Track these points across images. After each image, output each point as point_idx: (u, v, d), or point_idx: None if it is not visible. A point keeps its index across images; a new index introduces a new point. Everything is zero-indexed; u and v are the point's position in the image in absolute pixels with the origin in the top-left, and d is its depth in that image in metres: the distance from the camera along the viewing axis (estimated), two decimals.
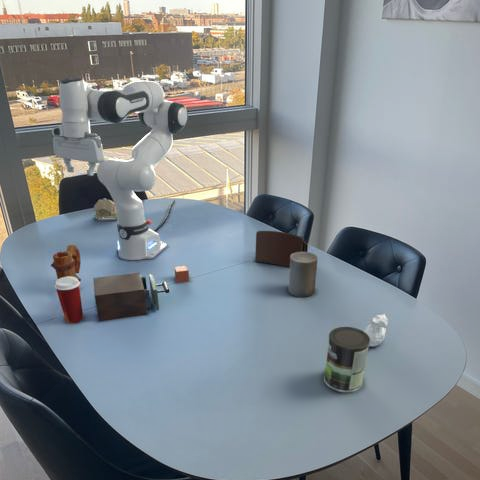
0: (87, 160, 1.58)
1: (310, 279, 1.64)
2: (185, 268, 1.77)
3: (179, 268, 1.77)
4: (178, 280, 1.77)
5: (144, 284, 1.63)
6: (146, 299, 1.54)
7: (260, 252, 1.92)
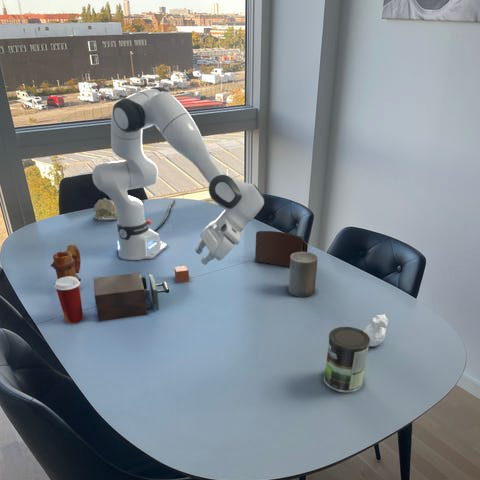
0: None
1: (310, 279, 1.64)
2: (185, 268, 1.77)
3: (179, 268, 1.77)
4: (178, 280, 1.77)
5: (144, 284, 1.63)
6: (146, 299, 1.54)
7: (260, 253, 1.92)
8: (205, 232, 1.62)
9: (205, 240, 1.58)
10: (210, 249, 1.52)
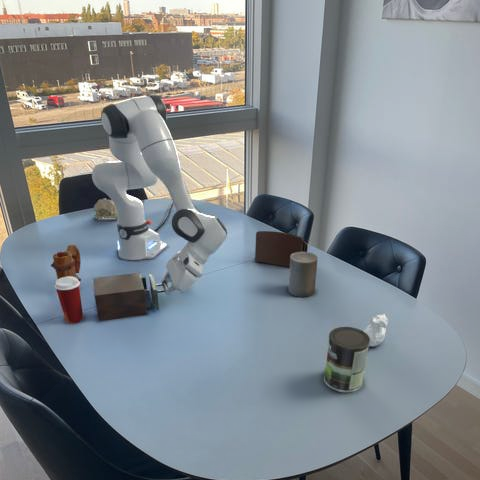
0: None
1: (310, 279, 1.64)
2: None
3: None
4: None
5: (144, 284, 1.63)
6: (146, 299, 1.54)
7: (260, 253, 1.91)
8: (170, 263, 1.64)
9: (170, 271, 1.60)
10: (173, 281, 1.53)
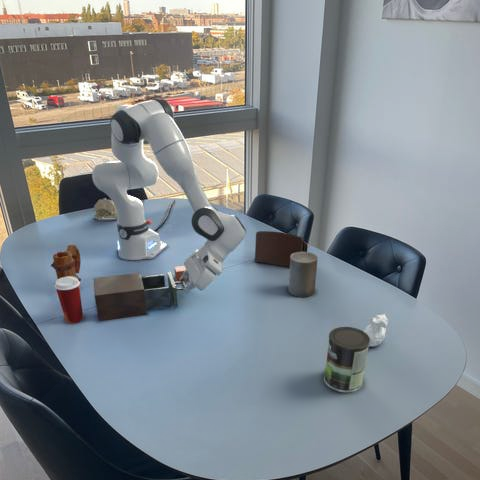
0: None
1: (310, 279, 1.64)
2: (185, 268, 1.77)
3: (179, 268, 1.77)
4: (178, 280, 1.77)
5: (162, 282, 1.64)
6: (165, 296, 1.56)
7: (260, 253, 1.91)
8: (188, 261, 1.65)
9: (188, 269, 1.62)
10: (192, 279, 1.55)
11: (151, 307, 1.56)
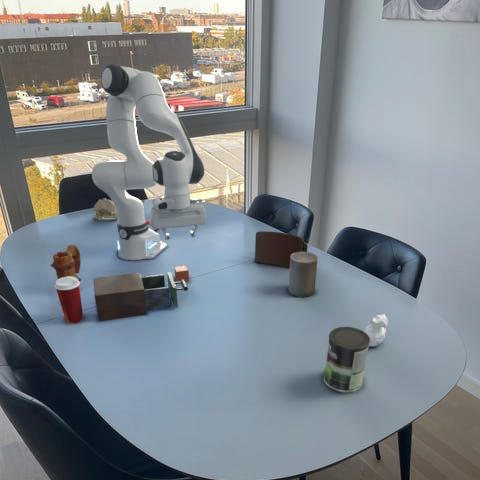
0: (195, 224, 1.68)
1: (310, 279, 1.64)
2: (185, 268, 1.77)
3: (179, 268, 1.77)
4: (178, 280, 1.77)
5: (162, 282, 1.64)
6: (165, 296, 1.56)
7: (260, 253, 1.91)
8: None
9: None
10: None
11: (151, 307, 1.56)
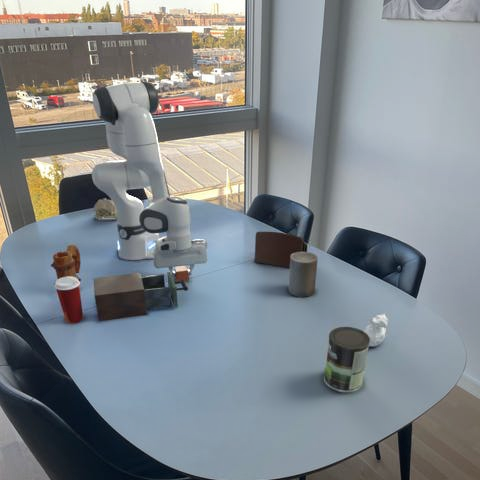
0: (196, 263, 1.76)
1: (310, 279, 1.64)
2: (185, 268, 1.77)
3: (179, 268, 1.77)
4: (178, 280, 1.77)
5: (162, 282, 1.64)
6: (165, 296, 1.56)
7: (260, 253, 1.91)
8: None
9: None
10: None
11: (151, 307, 1.56)
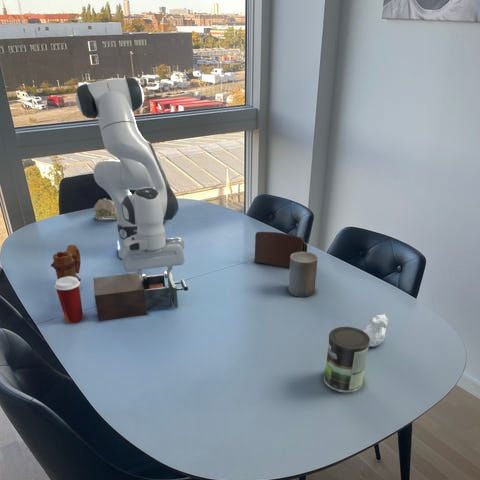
0: (171, 265, 1.55)
1: (310, 279, 1.64)
2: (160, 286, 1.59)
3: (154, 286, 1.59)
4: None
5: (162, 282, 1.64)
6: (165, 296, 1.56)
7: (259, 253, 1.91)
8: None
9: None
10: None
11: (151, 307, 1.56)
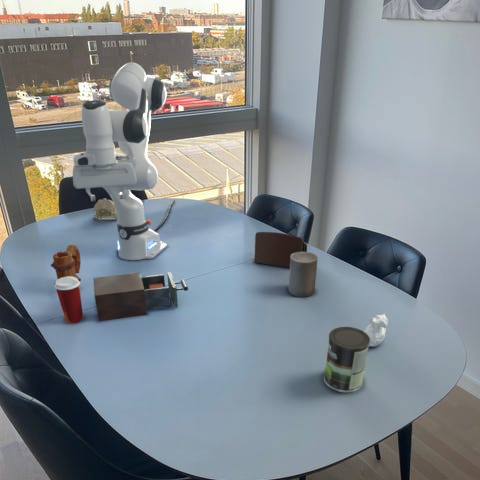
0: (123, 184, 1.54)
1: (310, 279, 1.64)
2: (160, 286, 1.59)
3: (154, 286, 1.59)
4: None
5: (162, 282, 1.64)
6: (165, 296, 1.56)
7: (259, 254, 1.91)
8: None
9: None
10: None
11: (151, 307, 1.56)
